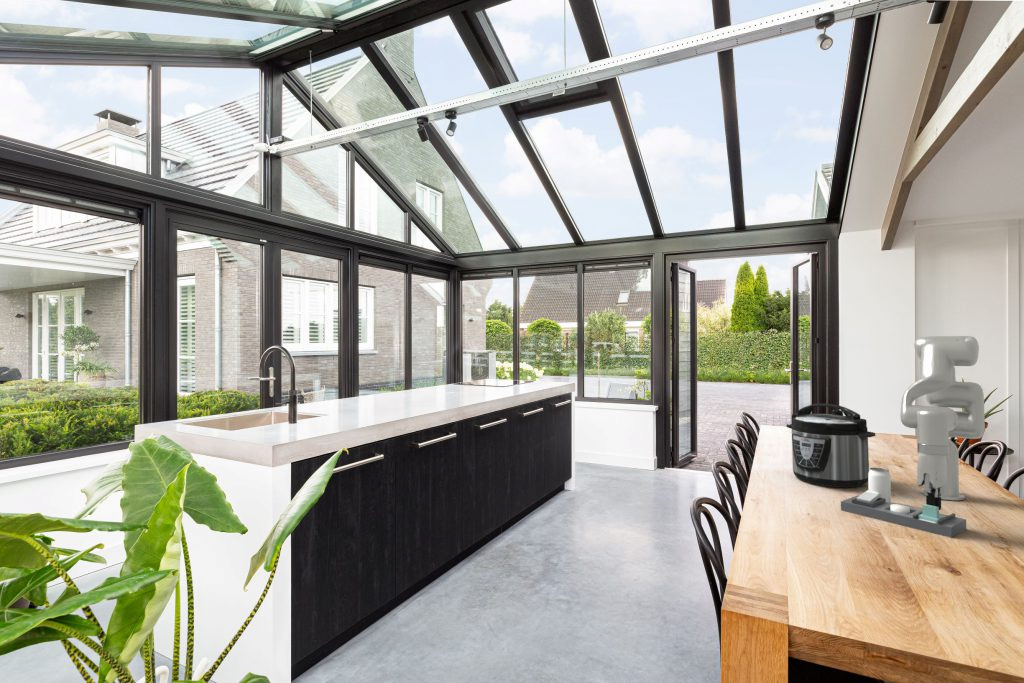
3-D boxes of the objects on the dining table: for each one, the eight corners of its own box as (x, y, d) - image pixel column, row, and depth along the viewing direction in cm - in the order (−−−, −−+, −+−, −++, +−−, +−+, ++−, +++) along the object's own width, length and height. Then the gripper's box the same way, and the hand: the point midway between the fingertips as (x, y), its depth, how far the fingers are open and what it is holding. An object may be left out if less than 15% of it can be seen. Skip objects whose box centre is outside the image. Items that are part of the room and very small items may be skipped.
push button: (894, 515, 170) (894, 503, 170) (912, 519, 166) (912, 507, 166) (887, 518, 167) (887, 506, 167) (905, 522, 163) (905, 510, 163)
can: (894, 506, 179) (894, 472, 179) (874, 505, 180) (873, 471, 180) (885, 500, 185) (884, 467, 185) (865, 500, 186) (864, 466, 186)
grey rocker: (867, 493, 178) (867, 489, 178) (880, 496, 174) (880, 492, 174) (856, 501, 174) (856, 497, 173) (870, 504, 170) (869, 500, 170)
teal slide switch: (923, 515, 160) (923, 502, 160) (942, 520, 156) (942, 506, 156) (918, 518, 158) (918, 505, 158) (937, 522, 154) (937, 509, 154)
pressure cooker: (776, 471, 228) (775, 400, 228) (841, 471, 227) (840, 399, 227) (812, 491, 198) (811, 408, 198) (888, 491, 197) (886, 408, 197)
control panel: (857, 503, 182) (857, 492, 182) (966, 529, 157) (966, 515, 157) (840, 510, 176) (840, 497, 176) (951, 537, 150) (951, 523, 150)
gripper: (927, 444, 166) (928, 501, 166) (908, 450, 158) (909, 510, 158) (957, 448, 159) (958, 507, 159) (938, 454, 151) (939, 517, 151)
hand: (933, 508), depth 159 cm, fingers closed
